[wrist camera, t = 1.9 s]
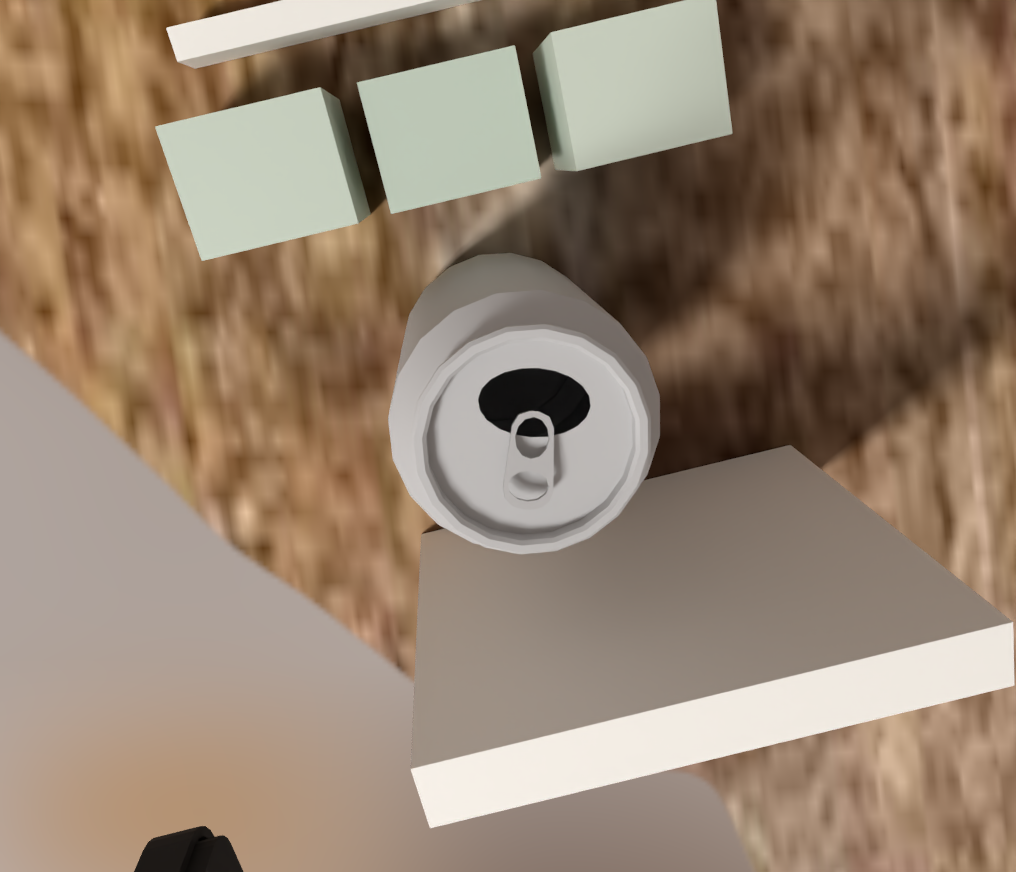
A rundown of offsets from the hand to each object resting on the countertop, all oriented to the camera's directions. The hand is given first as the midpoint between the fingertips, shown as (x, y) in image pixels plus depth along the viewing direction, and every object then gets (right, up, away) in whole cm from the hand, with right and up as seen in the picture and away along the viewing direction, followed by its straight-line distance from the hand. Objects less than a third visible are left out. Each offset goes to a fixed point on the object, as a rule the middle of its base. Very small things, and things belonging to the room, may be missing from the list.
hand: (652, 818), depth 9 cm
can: (-2, +8, +23) cm, 24 cm away
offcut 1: (-10, +14, +20) cm, 26 cm away
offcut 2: (+2, +17, +20) cm, 26 cm away
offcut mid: (-4, +15, +20) cm, 26 cm away
